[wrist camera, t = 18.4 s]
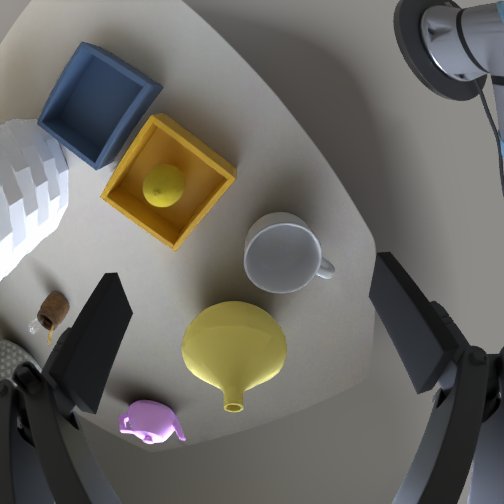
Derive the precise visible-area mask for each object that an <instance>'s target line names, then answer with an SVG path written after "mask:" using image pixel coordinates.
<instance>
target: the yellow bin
mask: <svg viewBox="0 0 504 504" xmlns="http://www.w3.org/2000/svg"><path fill="white" fill-rule="evenodd" d="M162 164H170V165H174V166H176V167H177V168H179V169H180V170H181V172H182V173H183V175H184V178H185V189H184V192H183V194H182V196H181V198H180V199H179V200H178V201H177V202H175V203H174V204H172V205H170V206H167V207H157V206H154V205H152V204H150V203H149V202H148V201H147V199H146V198H145V196H144V193H143V183H144V180H145V177H146V176H147V174H148V173H149V171H151V170H152V169H153V168H154V167H156V166H158V165H162ZM236 176H237V169H236V168H235V167H234V166H233V165H231V164H230V163H229V162H228V161H226V160H225V159H224V158H223V157H221V156H220V155H219V154H218V153H216V152H215V151H214V150H212V149H211V148H210V147H208V146H207V145H206V144H205V143H203V142H202V141H201V140H199V139H198V138H197V137H195V136H194V135H193V134H191V133H190V132H189V131H187V130H186V129H185V128H183V127H182V126H181V125H179V124H178V123H177V122H175V121H174V120H172V119H171V118H170V117H168V116H167V115H166V114H164V113H161V114H153V115H151V116H150V117H149V119H148V120H147V122H146V123H145V124H144V126H143V127H142V129H141V130H140V132H139V133H138V135H137V136H136V138H135V139H134V141H133V142H132V144H131V145H130V147H129V148H128V150H127V152H126V153H125V155H124V156H123V158H122V160H121V161H120V163H119V165H118V166H117V168H116V170H115V171H114V173H113V175H112V176H111V178H110V180H109V182H108V183H107V185H106V187H105V189H104V191H103V193H102V194H101V196H100V198H102V199H103V200H105V201H106V202H107V203H109V204H110V205H111V206H113V207H114V208H115V209H117V210H118V211H119V212H121V213H122V214H123V215H125V216H126V217H127V218H129V219H130V220H131V221H133V222H134V223H136V224H137V225H138V226H140V227H141V228H143V229H144V230H145V231H147V232H148V233H150V234H151V235H152V236H154V237H155V238H157V239H158V240H159V241H161V242H162V243H164V244H165V245H166V246H168V247H169V248H171V249H172V250H174V251H175V252H176V251H177V249H178V248H179V247H180V246H181V244H182V243H183V242H184V241H185V239H186V238H187V237H188V236H189V234H190V233H191V232H192V231H193V229H194V228H195V227H196V226H197V225H198V223H199V222H200V221H201V220H202V219H203V217H204V216H205V215H206V214H207V213H208V211H209V210H210V209H211V208H212V207H213V205H214V204H215V203H216V202H217V201H218V200H219V198H220V197H221V196H222V195H223V194H224V193H225V191H226V190H227V189H228V188H229V187H230V186H231V184H232V183H233V182H234V181H235V180H236Z"/></svg>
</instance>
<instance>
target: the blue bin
mask: <svg viewBox="0 0 504 504" xmlns="http://www.w3.org/2000/svg"><path fill="white" fill-rule="evenodd" d="M162 89H163V87H162V86H161V85H160V84H158V83H157V82H155V81H154V80H152V79H151V78H149V77H148V76H146V75H145V74H143V73H142V72H140V71H139V70H137V69H135V68H134V67H132V66H131V65H129V64H128V63H126V62H124V61H123V60H121V59H120V58H118V57H116V56H115V55H113V54H112V53H110V52H108V51H107V50H105V49H103V48H101V47H99V46H96V45H93V44H89V43H86V42H81V44H80V45H79V47H78V48H77V50H76V51H75V53H74V54H73V56H72V57H71V59H70V61H69V62H68V64H67V66H66V67H65V69H64V71H63V72H62V74H61V76H60V78H59V79H58V81H57V83H56V85H55V87H54V89H53V90H52V92H51V94H50V96H49V98H48V100H47V102H46V104H45V106H44V108H43V111H42V113H41V115H40V117H39V119H38V122H37V125H39V126H40V127H41V128H42V129H44V130H45V131H46V132H47V133H49V134H50V135H51V136H52V137H54V138H55V139H56V140H58V141H59V142H60V143H61V144H63V145H64V146H65V147H66V148H68V149H69V150H70V151H72V152H73V153H74V154H75V155H77V156H78V157H79V158H81V159H82V160H83V161H85V162H86V163H87V164H88V165H90V166H91V167H93V168H94V169H95V170H98V169H100V168H102V167H104V166H106V165H108V164H109V163H111V162H113V161H114V159H115V157H116V156H117V154H118V152H119V151H120V149H121V148H122V146H123V144H124V143H125V141H126V140H127V138H128V137H129V135H130V133H131V132H132V130H133V129H134V127H135V126H136V124H137V123H138V122H139V120H140V119H141V117H142V116H143V114H144V113H145V112H146V110H147V109H148V107H149V106H150V105H151V103H152V102H153V101H154V99H155V98H156V97H157V95H158V94H159V93H160V91H161V90H162Z"/></svg>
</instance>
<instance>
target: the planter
mask: <svg viewBox="0 0 504 504" xmlns="http://www.w3.org/2000/svg"><path fill="white" fill-rule="evenodd" d="M25 361H30V362H32V363H33V364H34V365H35V366H36V368H37V369H38V370H39V372H40V373H41V372H42V369H41V368H40V366H39V365H38V364H37V362H36V361H35V359H34V358H33V357H32V355H31V354H30V353H29V352H28V351H27V350H25V349H24V348H23V347H21V346H19V345H17V344H14V343H12V342H10V341H8V340H1V341H0V381H1V380H3V379H8V380H10V381H11V382H12V383H13V384H14V386H18V385H17V384H16V383H15V382H14V381H13V380H12V374H13V372H14V369H15V368H16V367H17V366H18V365H19V364H21V363H22V362H25Z"/></svg>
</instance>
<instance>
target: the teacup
mask: <svg viewBox="0 0 504 504" xmlns="http://www.w3.org/2000/svg"><path fill="white" fill-rule="evenodd" d="M244 268H245V271H246V274H247V275H248V277H249V279H250V280H251V281H252V282H253V283H254V284H255V285H256V286H257V287H259V288H260V289H263V290H265V291H267V292H271V293H289V292H293V291H296V290H298V289H300V288H302V287H304V286H305V285H306V284H308V283H309V282H310V281H311V280H312V279H313V278H314V276H315V275H316V274H317V275H319V276H320V277H323V278H327V279H328V278H331V277H332V276H333V274H334V272H335V268H334V266H333V265H332V264H331V263H330V262H329V261H328V260H326V259H325V258H323V257H322V248H321V244H320V242H319V240H318V238H317V237H316V235H315V234H314V233H313V232H312V230H311V229H310V228H309V226H308V225H307V224H306V223H305V222H304V221H303V220H302V219H301V218H299V217H297V216H295V215H293V214H290V213H286V212H275V213H270V214H267V215H265V216H263V217H261V218H260V219H258V220H257V221H256V222H255V223H254V224H253V225H252V226H251V228H250V230H249V231H248V233H247V236H246V240H245V247H244Z"/></svg>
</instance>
